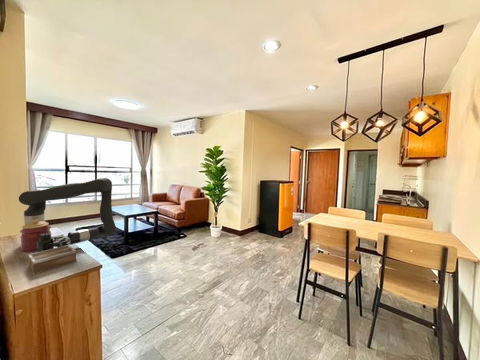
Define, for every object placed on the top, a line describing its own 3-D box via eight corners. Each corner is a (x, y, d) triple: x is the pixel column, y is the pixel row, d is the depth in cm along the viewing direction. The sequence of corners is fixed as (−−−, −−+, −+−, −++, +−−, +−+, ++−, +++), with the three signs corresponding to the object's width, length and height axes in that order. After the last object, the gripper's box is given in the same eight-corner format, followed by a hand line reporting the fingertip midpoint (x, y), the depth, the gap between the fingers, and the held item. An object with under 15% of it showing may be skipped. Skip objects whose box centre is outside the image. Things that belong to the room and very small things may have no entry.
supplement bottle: (56, 253, 115) (56, 233, 114) (41, 259, 109) (41, 237, 108) (49, 251, 117) (48, 231, 116) (34, 256, 111) (33, 235, 110)
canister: (43, 251, 117) (42, 222, 116) (14, 253, 113) (13, 223, 112) (56, 242, 129) (55, 216, 128) (30, 244, 125) (29, 216, 124)
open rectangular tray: (28, 265, 101) (28, 254, 101) (69, 254, 114) (68, 244, 114) (33, 274, 94) (33, 262, 94) (76, 261, 107) (75, 250, 107)
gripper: (74, 228, 129) (39, 234, 115) (82, 233, 120) (46, 241, 107) (75, 239, 129) (40, 247, 116) (83, 245, 121) (46, 254, 108)
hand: (43, 244), depth 112 cm, fingers open, 8 cm apart
